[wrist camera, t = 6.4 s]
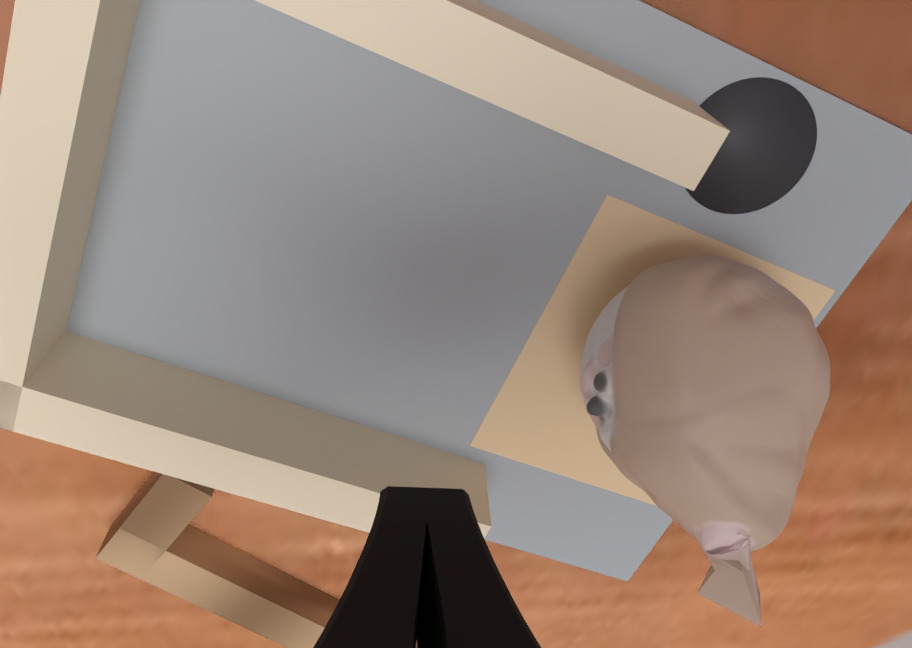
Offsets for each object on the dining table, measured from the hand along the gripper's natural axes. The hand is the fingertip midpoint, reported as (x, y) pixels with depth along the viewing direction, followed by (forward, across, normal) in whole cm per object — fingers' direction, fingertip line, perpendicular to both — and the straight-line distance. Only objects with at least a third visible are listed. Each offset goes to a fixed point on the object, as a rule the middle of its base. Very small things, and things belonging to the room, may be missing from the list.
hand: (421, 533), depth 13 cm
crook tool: (+11, +4, +12) cm, 16 cm away
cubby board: (+10, 0, 0) cm, 10 cm away
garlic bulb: (+10, -7, +2) cm, 13 cm away
